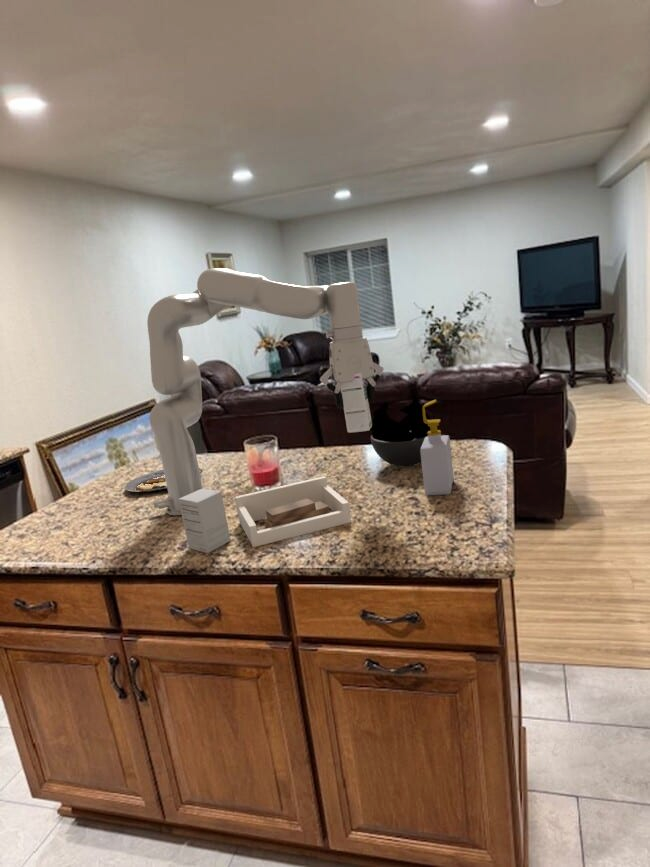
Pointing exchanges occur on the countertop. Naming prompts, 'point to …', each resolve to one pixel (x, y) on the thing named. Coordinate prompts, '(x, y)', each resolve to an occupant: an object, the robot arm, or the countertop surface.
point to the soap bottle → (436, 459)
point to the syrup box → (356, 405)
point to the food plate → (145, 478)
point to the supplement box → (204, 520)
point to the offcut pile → (294, 513)
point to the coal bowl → (399, 435)
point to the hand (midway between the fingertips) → (355, 404)
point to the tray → (313, 489)
